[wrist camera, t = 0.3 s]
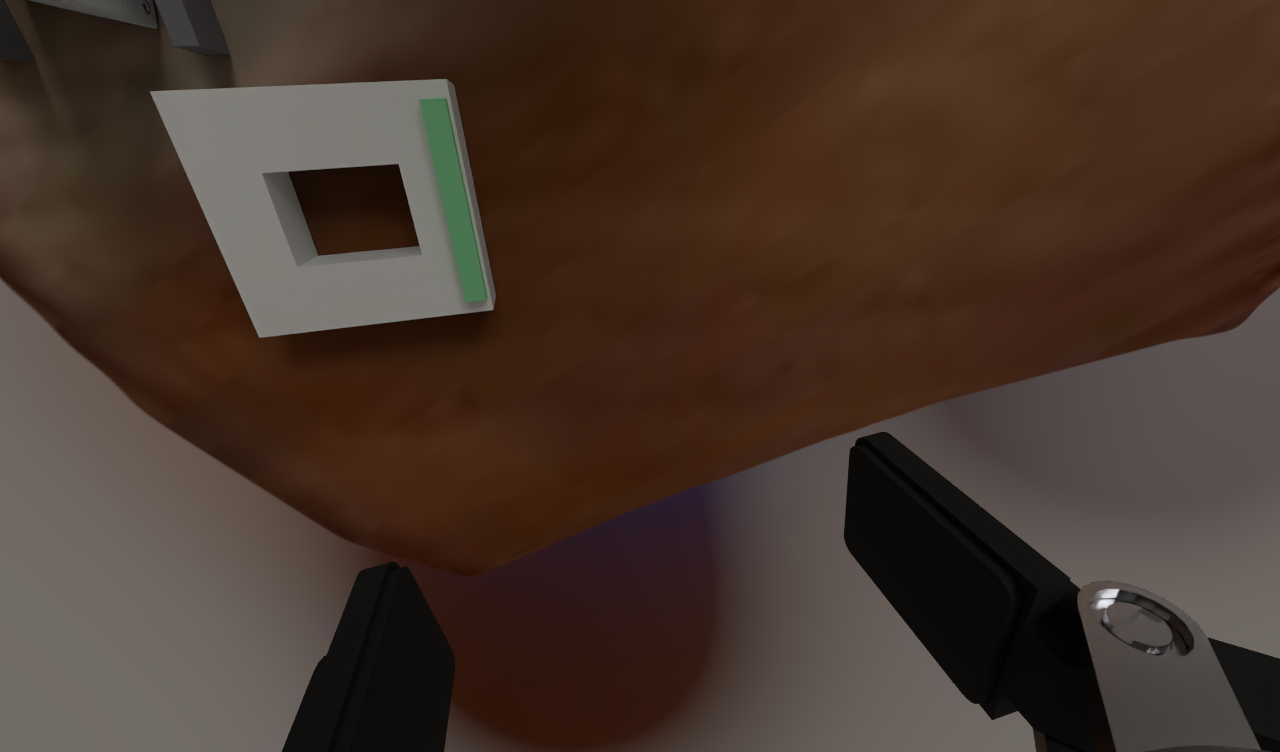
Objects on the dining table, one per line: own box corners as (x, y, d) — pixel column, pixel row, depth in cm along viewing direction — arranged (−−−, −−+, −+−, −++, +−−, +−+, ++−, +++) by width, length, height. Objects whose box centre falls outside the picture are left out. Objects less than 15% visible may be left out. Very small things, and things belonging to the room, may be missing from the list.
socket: (190, 96, 28) (139, 89, 25) (454, 85, 31) (444, 77, 27) (282, 320, 35) (253, 342, 31) (495, 296, 37) (492, 313, 33)
